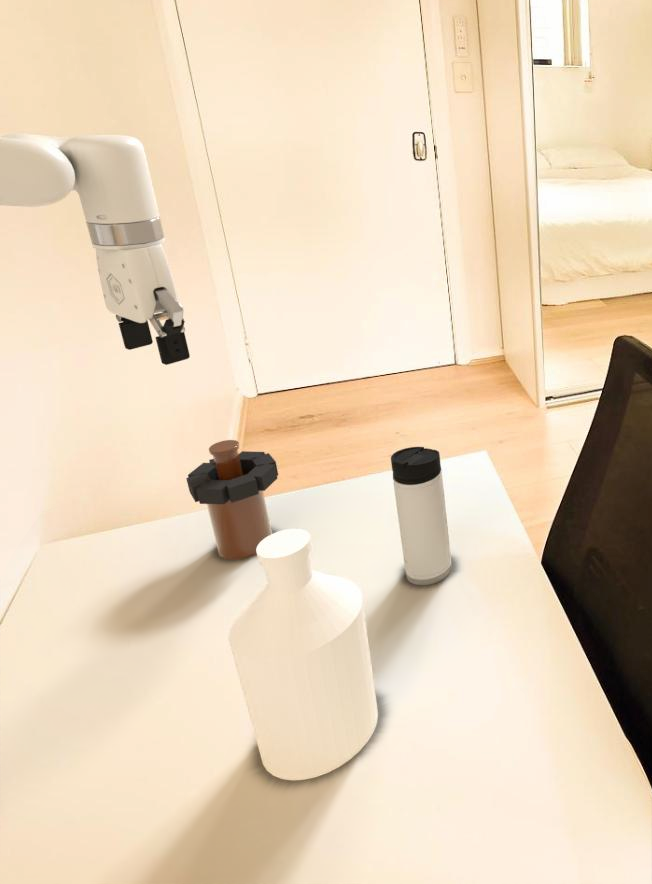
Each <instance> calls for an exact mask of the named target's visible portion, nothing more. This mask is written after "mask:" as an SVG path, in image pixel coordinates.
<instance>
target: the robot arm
mask: <svg viewBox="0 0 652 884" xmlns="http://www.w3.org/2000/svg"><path fill="white" fill-rule="evenodd" d="M153 185H154V184H153V182H152V177H151V173H150V168H149V164H148V159H147V155H146V152H145V148H144V145H143V143H142V142H141V141H140V140H139V139H138V138H136V137H134V136H130V135H125V134H85V135H78V136H57V135H44V134H35V133H33V134H32V133H10V134H5V135H1V136H0V206H5V207H7V206H8V207H21V208H22V207H26V208H37V207H46V206H50V205H53V204H56V203H58V202H60V201H62V200H63V199H65V198H66V197H67V196H68V195H70V193H71V192H72V191H75V192H77V194H78V197H79V200H80V204H81V207H82V212H83V216H84V219H85V223H86V227H87V230H88V234H89V238H90V241H91V245H92V248H93V249H95V257H96V265H97V270H98V276H99V280H100V281H99V282H100V285H101V291H102V296H103V299H104V304H105V306H106V309H107V310H108V312H110V313H112V314H114V315H115V319H116V321H117V322H118V327H119V330H120V335H121V338H122V342H123V346H124V348H125V349H126V350H129V351H130V350H134V349H139V348H142V347H146V346H150V345H152V344H153V342H154V341H153V337H152V332H151V329H150V326H149V322H150V323H151V325H152V327H153V329H154V331H155V332H156V334H157V335H158V336H155V338H154V339H155V341H156V345H157V349H158V354H159V357H160V361H161V364H162V365H165V366H167V365H171V364H175V363H179V362H182V361H185V360H186V361H187V360H188V359H190V355H191V354H190V351H189V347H188V342H187V339H186V334H185V333H186V327H185V322H186V321H185V319H184V308H183V306H182V305H181V303H180V301H179V296H178V291H177V287H176V285H175V284H176V283H175V280H174V276H173V273H172V270H171V267H170V264H169V260H168V258H167V255H166V252H165V250H164V247H163V244H164V243H165V242H166V236H165V232H164V227H163V225H162V219H161V215H160V211H159V206H158V201H157V198H156V193H155V189H154V186H153ZM161 321H164V324H162V323H161Z"/></svg>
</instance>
